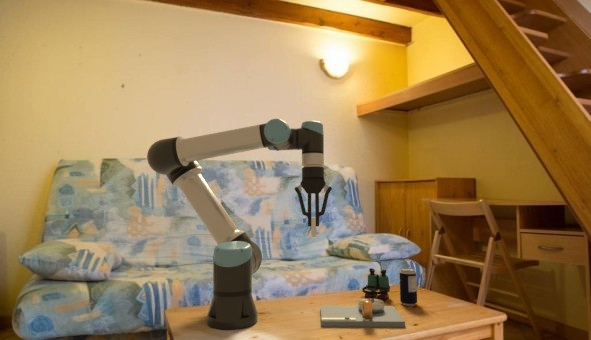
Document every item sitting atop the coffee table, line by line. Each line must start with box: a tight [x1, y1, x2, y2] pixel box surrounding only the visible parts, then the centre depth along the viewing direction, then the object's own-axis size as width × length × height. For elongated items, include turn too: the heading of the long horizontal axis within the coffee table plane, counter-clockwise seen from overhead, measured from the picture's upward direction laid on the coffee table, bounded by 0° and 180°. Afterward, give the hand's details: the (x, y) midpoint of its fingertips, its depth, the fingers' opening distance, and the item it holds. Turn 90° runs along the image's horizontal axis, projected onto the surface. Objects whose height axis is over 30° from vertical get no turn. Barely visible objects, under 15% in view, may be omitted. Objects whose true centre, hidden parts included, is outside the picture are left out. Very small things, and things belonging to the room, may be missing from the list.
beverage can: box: [399, 267, 418, 307], centre depth 134 cm, size 6×6×12 cm
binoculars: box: [361, 267, 391, 302], centre depth 142 cm, size 9×11×10 cm
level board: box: [319, 305, 406, 328], centre depth 119 cm, size 24×16×2 cm, turn 88°
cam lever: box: [357, 298, 385, 319], centre depth 118 cm, size 16×8×5 cm, turn 163°
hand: (313, 236), depth 129 cm, fingers closed
